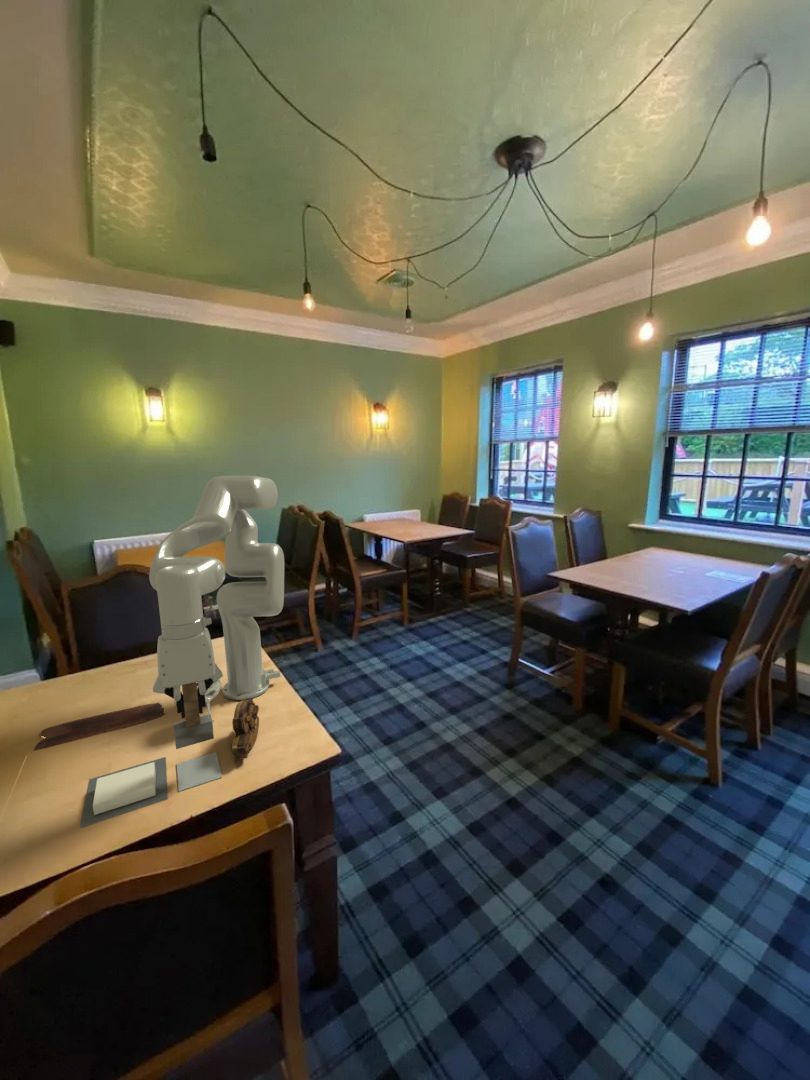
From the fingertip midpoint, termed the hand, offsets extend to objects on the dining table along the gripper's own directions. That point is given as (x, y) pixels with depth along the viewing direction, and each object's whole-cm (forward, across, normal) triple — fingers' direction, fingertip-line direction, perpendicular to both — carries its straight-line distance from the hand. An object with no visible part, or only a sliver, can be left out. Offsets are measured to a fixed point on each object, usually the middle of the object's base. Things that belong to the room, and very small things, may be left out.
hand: (191, 712), depth 92 cm
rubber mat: (+15, +13, -2) cm, 19 cm away
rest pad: (+15, 0, 0) cm, 15 cm away
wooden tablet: (+15, +19, -31) cm, 39 cm away
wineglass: (+15, -4, -18) cm, 24 cm away
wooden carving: (+15, -11, -5) cm, 19 cm away
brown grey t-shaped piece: (+6, 0, 0) cm, 6 cm away
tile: (+13, +13, -5) cm, 19 cm away
